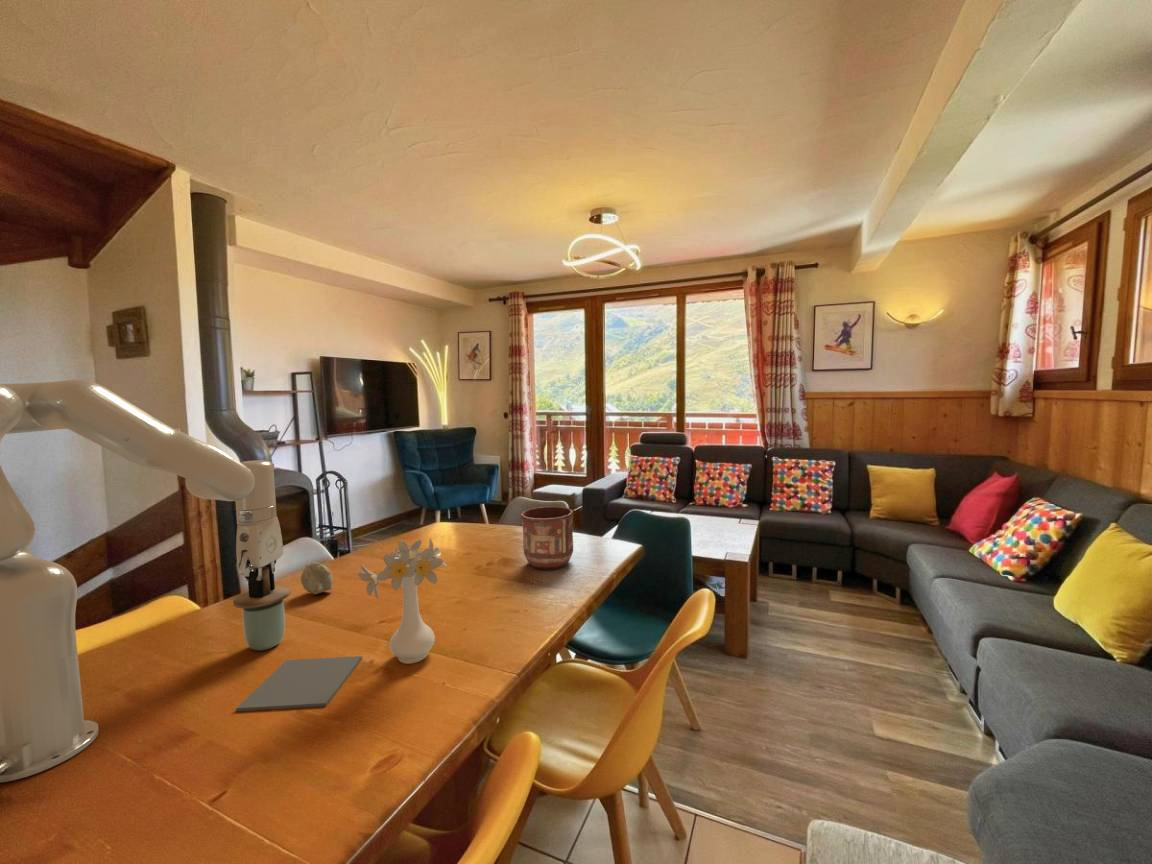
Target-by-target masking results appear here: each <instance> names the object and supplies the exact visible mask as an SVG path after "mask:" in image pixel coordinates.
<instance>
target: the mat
mask: <svg viewBox="0 0 1152 864" xmlns="http://www.w3.org/2000/svg"><path fill="white" fill-rule="evenodd" d="M362 659H363V656H362V655H359V656H357V655H356V656H341V657H340V656H339V657H323V658H322V657H320V658H317V657H316V658H300V659H286V660H285V661H284V662H283V663H282V664H281V665H280V666H279V667H277V669H276V670H274V672H272V674H270V675H269V676H268V677H267V678H266V679H265V680H264V681H263V682H262V683H261V684H260V685H259V686H258V687H256V689H254V690H253V691H252V692H251V693H250V694H249V695H248V696H247V697H246V698H245V699H244V700H243V701H242V702H241V703H240V704H239V705H238V706H236V708H235V711H236V712H249V711H267V710H279V709H280V710H283V709H300V708H301V709H302V708H315V707H317V708H318V707H328V705H329V703H330V702H331V701H332V700H333V698H334V696H336V694H337V693H338V691H339V690H340V688H341V687H342V686H343V685H344V684H345V683H346V681H347V680H348V678H349V677H350V675H352V673H353V672H354V670H355V669H356V668H357V666H358V665H359V663H361V661H362Z"/></svg>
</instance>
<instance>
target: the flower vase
mask: <svg viewBox="0 0 1152 864" xmlns="http://www.w3.org/2000/svg"><path fill="white" fill-rule="evenodd" d="M428 539H429V543H428V544H429V547H428V548H425V549H424V550H423V551H420V550H419V549H420V547H421V545H422V540H419V539H418V540H416V541H414V542H413V544H412V543H411V546H409V544H408V543H407V542H406V541H404V540H400V541H399V542H398V543H397V546H396V548H395V551H391V554H388V553H387V554H384V555H383V563H384V564H385V567H384V569H383V570H382V571H380V572H379V573H378V574H377V573H374V572H372V571H371V570H369V569H367V568H366V566H364V565H363V564H361V565H360V568H361V570H362V571H363V572H358V573H357V574H358V575H357V576H358V577H359V578H360V579H361V580H362V581H364V582H368V583H367V584H366V593H367V595H368V596H371V595H372V594H373V592H374V596H375V597H376V599H377V600H379V598H380V597H379V585H380V584H379V583H380V582H381V581H387V580H390V579H391V582H390V584H391V588H392V590H393V591H397V590H399V588H400V587H401V588H402V616H401V617H402V618H401V622H400V624H399V627H398V628H397V630H396V631H395V632H394V633H393V635H392V637H391V638H390V641H389V651H390V653H391V654H392V655H393V656H394V657H396V658H397V660H398V661H399V662H400V663H401V664H404V665H405V664H407V665H408V664H409V665H410V664H416V663H419V662H421V661H424V660H425V659H426V657H427V656H428V654H429V651H430V650H431V649H432V648H433V646H434V644H435V641H436V637H435V633H434V631H433V630H432V628H431V627H430V626H429V625H428V624H426V623H425V622H424V620H423V619H422V617H421V613H420V610H419V609H420V608H419V598H418V586H419V585H421V584H422V583H423V581H424V579H425V580H427V581H428V582H430V583H431V584H436V583H438V577H437V574H436V573H435V571H433V570H436V569H438V568H439V567H441V566H445V567H448V565H447V564H446V561H444V560H443V559H442V558H441V554H442V551H441V550H440V548H438V547H434V543H433V541H432V538H431V537H429V538H428ZM398 550H399V551H398ZM408 565H409V566H408Z"/></svg>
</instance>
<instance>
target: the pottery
mask: <svg viewBox="0 0 1152 864" xmlns="http://www.w3.org/2000/svg"><path fill="white" fill-rule="evenodd" d="M573 515H574V512H573V510H572V509H570V508H568V507H565V506H553V505H552V506H550V505H549V506H539V507H533V508H529V509H527V510H523V511H522V513H520V519H521V520H520V521H521V525H522V533H523V534H522V535H523V541H522V543H523V549H522V550H523V554H524V557H525V559H526V561H527V563H528V564H529V565H531V567H533V568H535V570H536V569H537V570H541V571H543V570H544V571H550V570H551V571H552V570H553V571H554V570H558V569H561V568H563V567H565V566H566V565H567V564H568V563H569V562H570V560H571V558H572V555H573V552H574V536H573V534H574V533H573V531H574V530H573V529H574V528H573V523H574V520H573V519H574V518H573V517H574V516H573Z"/></svg>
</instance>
